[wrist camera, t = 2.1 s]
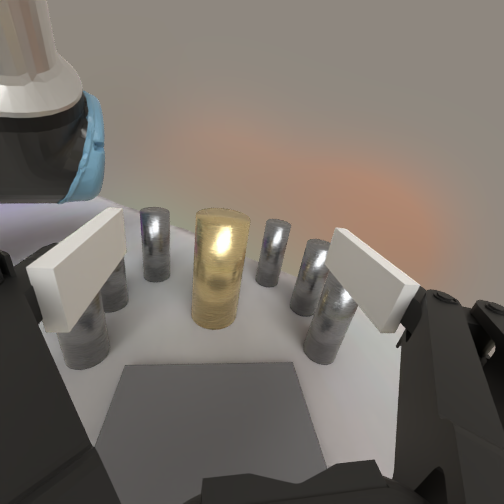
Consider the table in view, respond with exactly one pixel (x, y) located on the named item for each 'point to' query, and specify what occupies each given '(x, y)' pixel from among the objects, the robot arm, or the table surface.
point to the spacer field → (272, 253)
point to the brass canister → (218, 266)
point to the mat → (205, 429)
